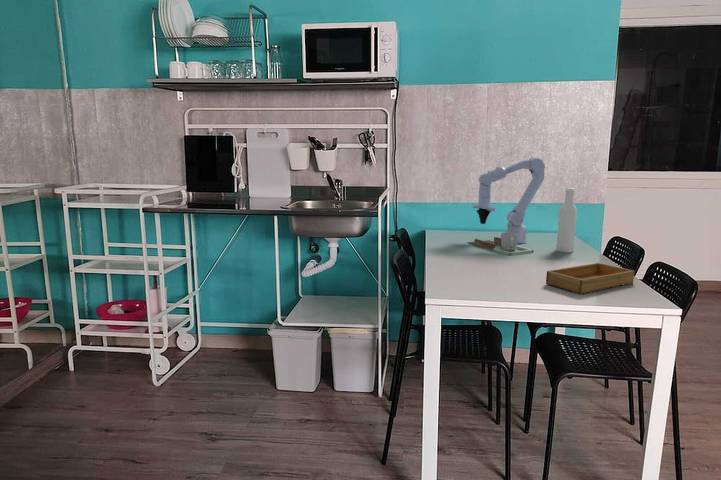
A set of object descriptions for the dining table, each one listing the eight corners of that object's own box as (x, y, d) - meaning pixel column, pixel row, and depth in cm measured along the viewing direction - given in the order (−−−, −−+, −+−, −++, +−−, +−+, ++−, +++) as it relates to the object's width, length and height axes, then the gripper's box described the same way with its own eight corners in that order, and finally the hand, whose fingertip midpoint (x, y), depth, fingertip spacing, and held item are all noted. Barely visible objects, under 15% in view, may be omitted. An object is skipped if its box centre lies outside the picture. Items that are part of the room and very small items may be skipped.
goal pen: (516, 248, 261) (516, 245, 261) (533, 252, 251) (533, 250, 251) (493, 250, 255) (493, 248, 254) (510, 255, 245) (510, 252, 245)
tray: (597, 275, 213) (598, 261, 212) (633, 284, 201) (634, 269, 199) (545, 285, 197) (546, 270, 196) (581, 296, 185) (582, 280, 184)
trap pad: (488, 240, 279) (488, 240, 278) (495, 242, 274) (495, 241, 274) (467, 242, 272) (467, 242, 272) (473, 244, 268) (473, 244, 268)
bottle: (570, 249, 260) (576, 187, 254) (575, 253, 252) (581, 189, 246) (553, 249, 260) (559, 187, 255) (558, 252, 253) (563, 188, 247)
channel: (495, 242, 274) (496, 236, 273) (515, 247, 262) (515, 241, 261) (474, 244, 267) (474, 239, 267) (493, 250, 255) (493, 244, 255)
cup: (520, 253, 250) (521, 236, 248) (502, 252, 250) (504, 236, 249) (515, 248, 260) (516, 232, 259) (498, 248, 261) (499, 231, 259)
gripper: (469, 196, 276) (467, 222, 279) (487, 199, 263) (486, 226, 266) (479, 195, 279) (478, 221, 282) (498, 198, 266) (497, 225, 269)
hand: (482, 223), depth 274 cm, fingers closed
